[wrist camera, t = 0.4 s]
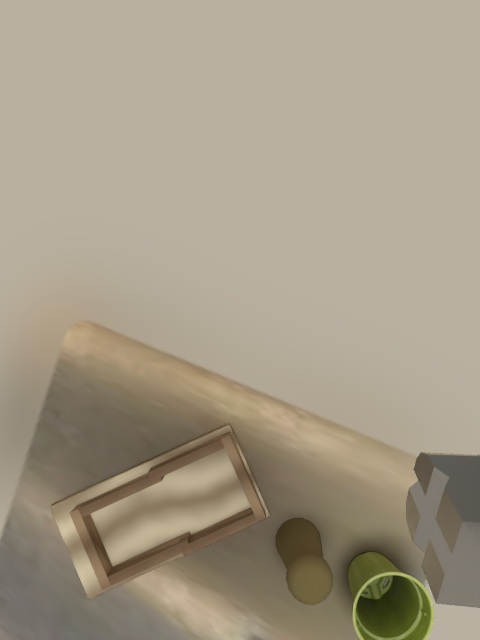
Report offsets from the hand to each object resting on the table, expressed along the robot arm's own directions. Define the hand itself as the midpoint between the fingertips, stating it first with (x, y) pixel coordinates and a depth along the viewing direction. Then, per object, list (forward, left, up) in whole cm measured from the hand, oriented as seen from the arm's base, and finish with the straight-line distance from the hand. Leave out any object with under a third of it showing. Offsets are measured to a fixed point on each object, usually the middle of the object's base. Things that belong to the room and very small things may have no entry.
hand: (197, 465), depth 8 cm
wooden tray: (-14, +17, -52) cm, 56 cm away
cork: (-26, +2, -52) cm, 58 cm away
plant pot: (-34, -5, -52) cm, 62 cm away
